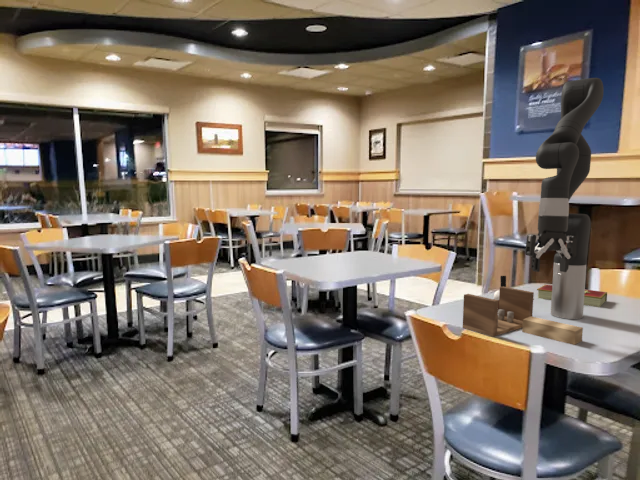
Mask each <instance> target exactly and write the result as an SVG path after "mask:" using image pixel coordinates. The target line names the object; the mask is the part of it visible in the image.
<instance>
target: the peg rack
mask: <svg viewBox="0 0 640 480" xmlns="http://www.w3.org/2000/svg"><path fill="white" fill-rule="evenodd" d="M499 290H500V293H499V301H498V300H494V298H489V297H484V296H480V295H475V294H472V293H467V294H466V293H465V294H463V306H462V307H463V309H462V328H463V329H466V330H469V331H472V330H473V332H475V331H476V332H475V333H479V334H482V333H483V334H482V335H485V334H486V335H485V336H489V337H492V338H493V337H494V338H495V337H496V336H500V335H504V334H507V333H509V332H513V331H516V330H519V329H522V326H523V319H525V318H528V317H531V316H532V317H533V312H534V311H533V310H534V309H533V308H534V300H533V299H534V296H535V295H534V294H535V293H534V291H530V290H529V291H528V290H523V289H520V288H519V289H518V288H514V287H508V286H506V287H501V286H499ZM498 303H499V309H498Z"/></svg>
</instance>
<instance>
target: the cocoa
mask: <svg viewBox="0 0 640 480" xmlns="http://www.w3.org/2000/svg"><path fill="white" fill-rule="evenodd" d="M500 287H507V276H506V275H500ZM499 293H500V289H499V290H496V291H494V294H493V299H494V300H498V301H499ZM498 310H499V303H498Z"/></svg>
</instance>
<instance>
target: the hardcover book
mask: <svg viewBox="0 0 640 480" xmlns="http://www.w3.org/2000/svg"><path fill="white" fill-rule="evenodd" d="M536 291H538V292H537V299H542V300H548V301H552V285H551V284H544V285H542V286H540V287H538V288H537V289H536ZM607 300H608V292H607V291H601V290H591V289H586V288H585V294H584V306H588V305H589V306H590V307H594V308H595V307H596V308H601V306H602V305H604V303H605V302H607ZM589 306H588V307H589Z"/></svg>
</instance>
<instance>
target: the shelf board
mask: <svg viewBox="0 0 640 480" xmlns="http://www.w3.org/2000/svg"><path fill="white" fill-rule="evenodd" d="M583 330H584V327H581V326H576V325H571V324H567V323H563V322H558V321H553V320H549V319H546V318H545V319H544V318H541V317H536V316H533V315H532V316H531V317H528V318H525V319H523V326H522V328H521V331H522V333H525V334H530V335H532V336H537V337H542V338H545V339H549V340H552V341H557V342H561V343H565V344H568V345H573V346H576V345H577V344H579V343H581V342H582V341H583Z"/></svg>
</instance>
